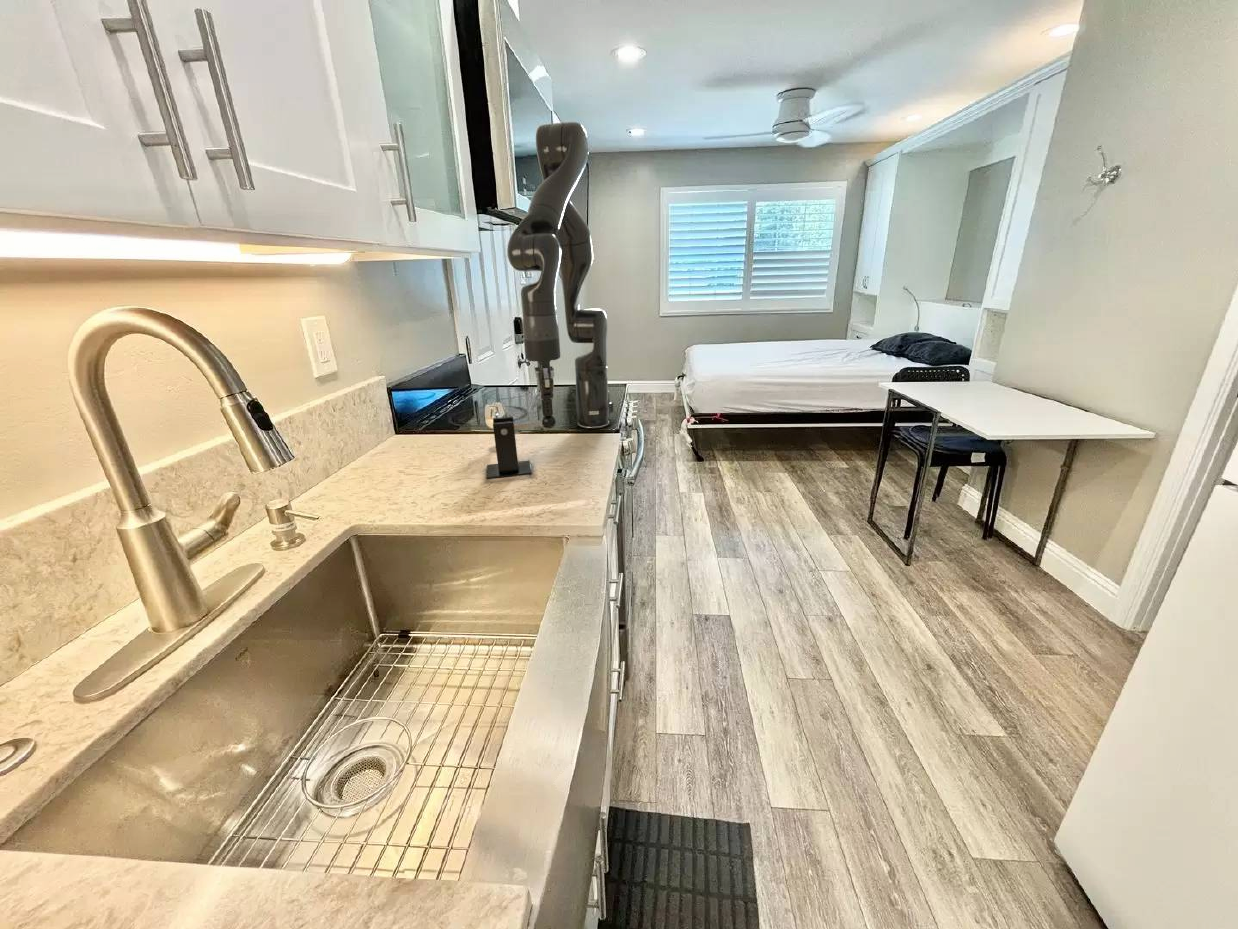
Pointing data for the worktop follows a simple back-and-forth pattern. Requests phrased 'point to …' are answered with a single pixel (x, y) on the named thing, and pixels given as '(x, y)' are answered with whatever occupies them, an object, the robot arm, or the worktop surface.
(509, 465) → the black lever stand
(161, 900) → the worktop surface
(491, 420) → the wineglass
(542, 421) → the tap lever
